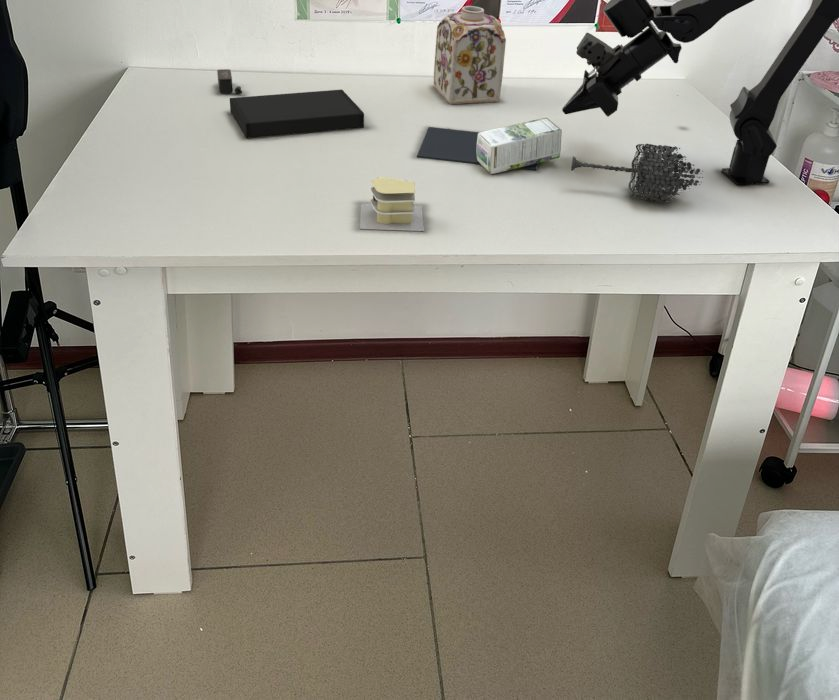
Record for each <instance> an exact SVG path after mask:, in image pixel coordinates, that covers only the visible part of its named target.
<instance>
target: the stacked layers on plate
mask: <svg viewBox="0 0 839 700" xmlns="http://www.w3.org/2000/svg"><path fill="white" fill-rule="evenodd" d="M370 182H371V184H372V186H373V187H371V188H370V192H371V194H372V198H371V199H370V203H360V220H359V229H360V230H382V231H383V230H384V231H412V232H424V231H425V230H424V217H423V216H424V215H423V206H422V205H415V204H414V203H415V202H416V196H415V194H416V183H415V181H409V180H404V179H397V178H391V177H379V176H377V177H376V178H374V179H372V180H370Z"/></svg>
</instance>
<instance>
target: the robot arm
mask: <svg viewBox="0 0 839 700" xmlns="http://www.w3.org/2000/svg"><path fill="white" fill-rule="evenodd" d="M754 1H755V0H678V1H676V2H675V3H673V4H672V5H653V6H652V5H651V4H650V3H649V1H648V0H609V1H608V2H607V3H606V4H605V5H604V7H603V8H602V12H603V14H604V15H605V16H606V18H607V19H608V20H609V22H610V24H611V25H612V26H613V27H614V29H615V30H616V32H617V33H618V34H619V35H620V37H622V38H625V37H627V38H628V39H631V40H629V42H627V43H626V44H625V45H623V44H617V45H616V46H614V47H612V46H610V45H609V44H608V43H606V42H604V41H602V40H601V39H600V38H598V37H597V36H594V35H593V34H592V33H589V32H586V33H585V34H584V36H583V37H582V39H581V40H580V42H579V43H578V45H577V47H576V55H577V56H578V57H580V59H584V60H586V64H587V65H588V66H592V69H591V70H590V71H589V72H588V70H587V69H585V70H584V72H583V79H582V83H581V85H580V86H579V87H578V89H577V90H576V91H575V92H574V94H573V95H572V96H571V97H570V98H569V100H568V101H567V102H566V104H564V106H562V109H561V111H562V113H563V114H564V115H570V114H574V113H579V112H583V111H588V110H589V111H590V110H593V109H600V110H601V111H602V113H604V115H605V116H606V117H607V118H609V117H610V116H611V115H613V114H614V113H615V112H617V111H618V108H619V97H618V96H619V95H620V94H622V93H623V92H622V89H623V88H625V87H626V86H627V85H629V84H630V83H631V82H633V81H634V80H635V81H636V82H638V81H640V80H641V79H642V78H643V77H642V75H643V74H644V73H645V72H646V71H648V70H649V69H650V68H652V67H654V65H656V64H657V63H659V62H660V61H662V60H663V59H665V58H666V57H667V56H669V58H670V60H671V61H672V63H674V64H678V63H679V58H680V53H681V52H682V51H681V50H682V49H683V48H682V44H681V43H683V44H689V43H691V42H694V41H696V40H697V39H698V38H699V37H701V36H702V35H704V34H705V33H707V32H709V30H711V29H712V28H713V27H715V25H717V24H718V23H719V21H720V20H722V19H723V18H724V17H726V16H728V14H731V13H732V12H734V11H736V10H738V9H740V8H742V7H744V6H746V5H749V4H750V3H752V2H754ZM838 19H839V0H811V4H810V7H809V9H808V10H807V12H806V13H805V14H804V16H803V18H802V19H801V21H800V22H799V23H798V25H797V26H796V28H795V30H794V31H793V33H792V34H791V36H790V37H789V38H788V40H787V41H786V43H785V44H784V46H783V47H782V49H781V50H780V52H779V53H778V55H777V56H776V58H775V59H774V61H773V62H772V64H771V65H770V67H769V68H768V70H767V71H766V73H765V74H764V75H763V77H762V79H761V80H760V81H759V82H758V83H757V84H756V85H755V86H753V87H752V88H751V89H748V88H747V87H746V86H742V88H741V89H740V92H739V94H738V96H737V98H736V99H735V100H734V101H733V102H732V103H730V104H729V106H730V109H731V110H730V111H729V123H730V126H731V128H732V131H733V134H734V136H735V138H736V141H735V146H734V147H733V151H732V156H731V159H730V163H729V167H726V168H725V167H724V168H721V173H722V174H723V175H725V176H726V177H727V178H728V179H730V180H731V181H732V182H733V183H734V184H736V185H737V186H749V185H750V186H751V185H768V184H770V180H769V179H768V178H766V176H765V173H766V169H767V166H768V162H769V159H770V156H772V155H773V153H774V152H775V150H776V149H777V147H778V146H777V142H776V141H775V139H774V136H773V133H772V132H771V130H770V128H771V125H772V123H773V121H774V119H775V116H776V113H777V110H778V106H779V103H780V101H781V98H782V96H783V95H784V94H785V92H786V91H787V89H788V88H789V86H790V85H791V83H792V82H793V81H794V79H795V78H796V77H797V75H798V74H799V72H800V71H801V69H802V68H803V66H804V65H805V63H806V62H807V61H808V59H809V58H810V56H811V55H812V53H813V52H814V50H816V48H817V46H818V45H819V43H820V42H821V40H822V39H823V38H824V37H825V35H826V34H827V32H828V30H830V28H831V26H832V25H833V24H834V23H835V22H836V21H837V20H838ZM669 34H670V35H669ZM670 36H671V37H672V39H674V40H675V41H677V42H679V43H675V42H673V40H672V39H671V37H670Z"/></svg>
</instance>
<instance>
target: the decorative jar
mask: <svg viewBox="0 0 839 700" xmlns="http://www.w3.org/2000/svg"><path fill="white" fill-rule="evenodd" d="M460 10H461V11H459V12H452V13H450V14H447V15H446V16H445V17H443V18H442V19H441V21H440V22H439V23H438V24H437V26H436V37H435V38H436V39H435V48H434V49H435V52H434V53H435V54H434V65H433V87H434V88H435V89H436V91H437V92H438V93H439V94H440V95H441V96H442V98H444V99H445V100H446V101H447V102H448V103H449V104H450V105H458V104H460V105H463V104H478V103H494V102H495V103H497V102H500V101H501V92H502V86H503V78H504V77H503V76H504V67H505V66H504V65H505V56H506V55H505V54H506V44H507V39H506V34H505V31H504V29H503V27H502V23H501V21H500V20H499V19H498V18H496V17H495V16H493V15H489V14H487V13H485V9H484V8H483V7H480V6H474V5H465V6H461V9H460Z"/></svg>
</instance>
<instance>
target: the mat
mask: <svg viewBox="0 0 839 700" xmlns="http://www.w3.org/2000/svg"><path fill="white" fill-rule="evenodd" d="M480 132H481V131H469V130H461V129H451V128H443V127H433V126H428V127H427V130H426V132H425V135H424V137H423V140H422V142H421V145H420V147H419V150H418V151H417V155H416V158H421V159H429V160H438V161H447V162H457V163H465V164H474V165H481V164H480V163H479V162H478V161H477V137H478V133H480ZM516 169H519V170H528V171H535V172H536V171H537V169H538V163H536V164H532V165H528V166H524V167H520V168H516Z"/></svg>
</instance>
